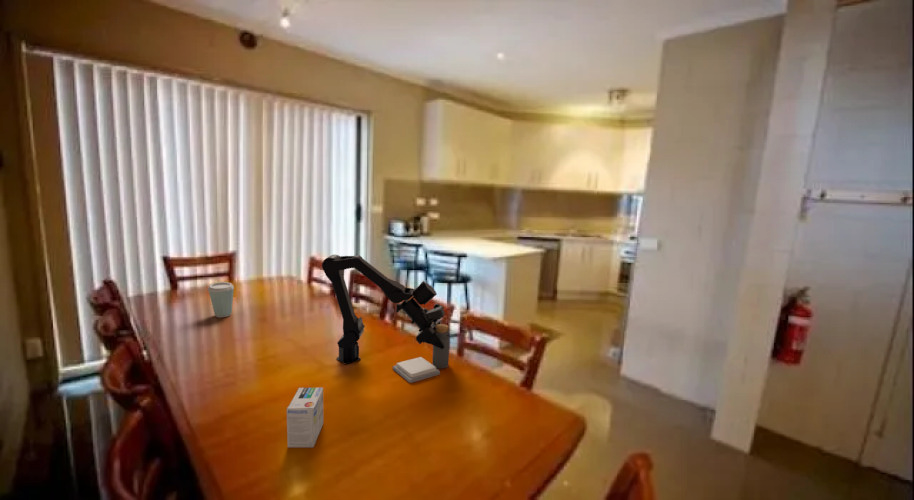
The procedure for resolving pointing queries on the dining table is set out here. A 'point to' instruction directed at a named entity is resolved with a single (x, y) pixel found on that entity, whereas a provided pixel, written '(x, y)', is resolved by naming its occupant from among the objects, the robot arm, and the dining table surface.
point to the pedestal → (416, 369)
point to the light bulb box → (305, 417)
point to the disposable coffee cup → (221, 298)
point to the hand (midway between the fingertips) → (444, 344)
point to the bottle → (440, 354)
